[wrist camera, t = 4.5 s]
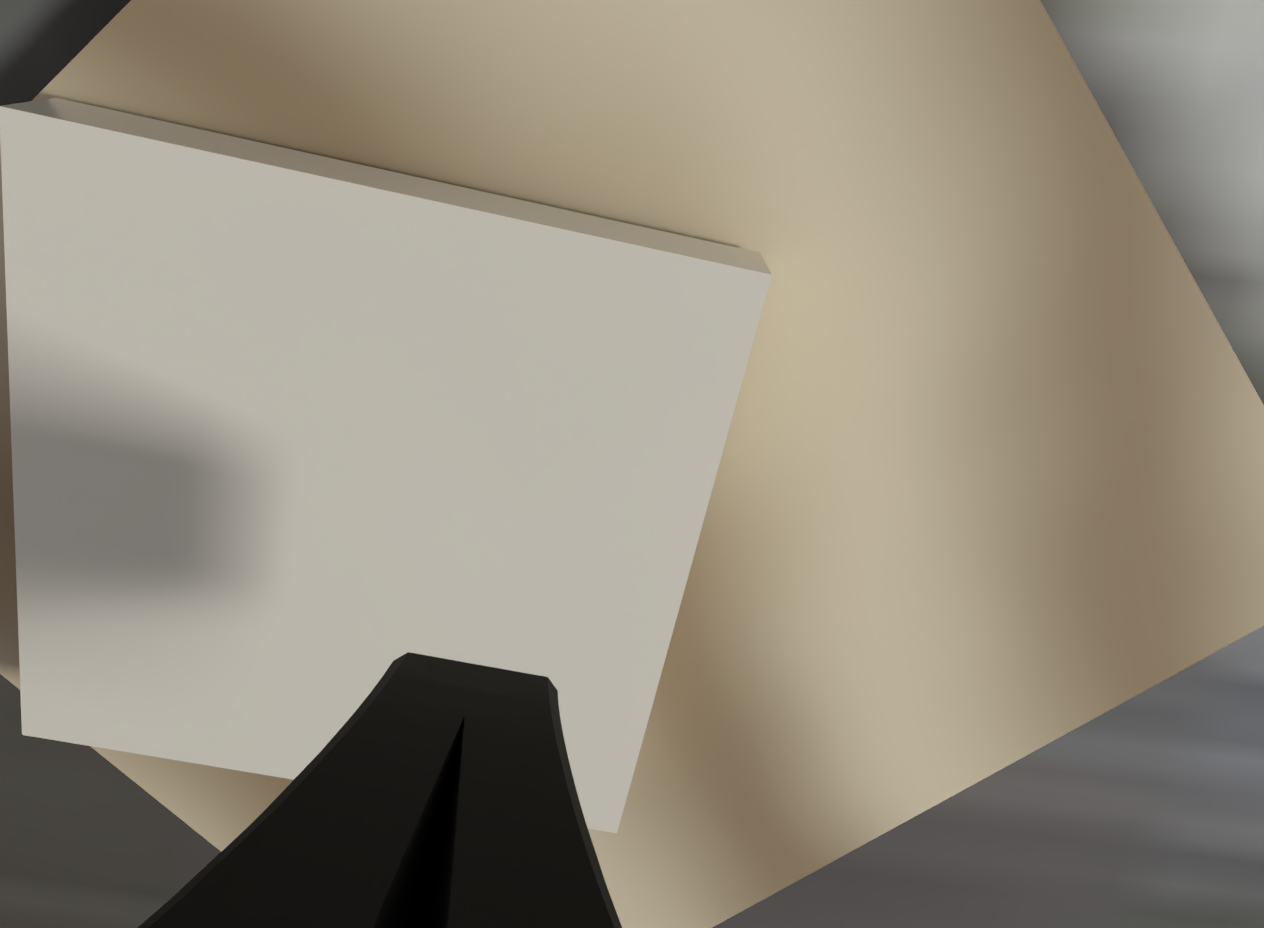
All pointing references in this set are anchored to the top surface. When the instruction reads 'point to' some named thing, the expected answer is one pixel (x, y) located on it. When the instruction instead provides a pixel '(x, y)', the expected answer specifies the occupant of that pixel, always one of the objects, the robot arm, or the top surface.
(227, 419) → the tile
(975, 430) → the board
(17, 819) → the top surface
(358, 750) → the robot arm
